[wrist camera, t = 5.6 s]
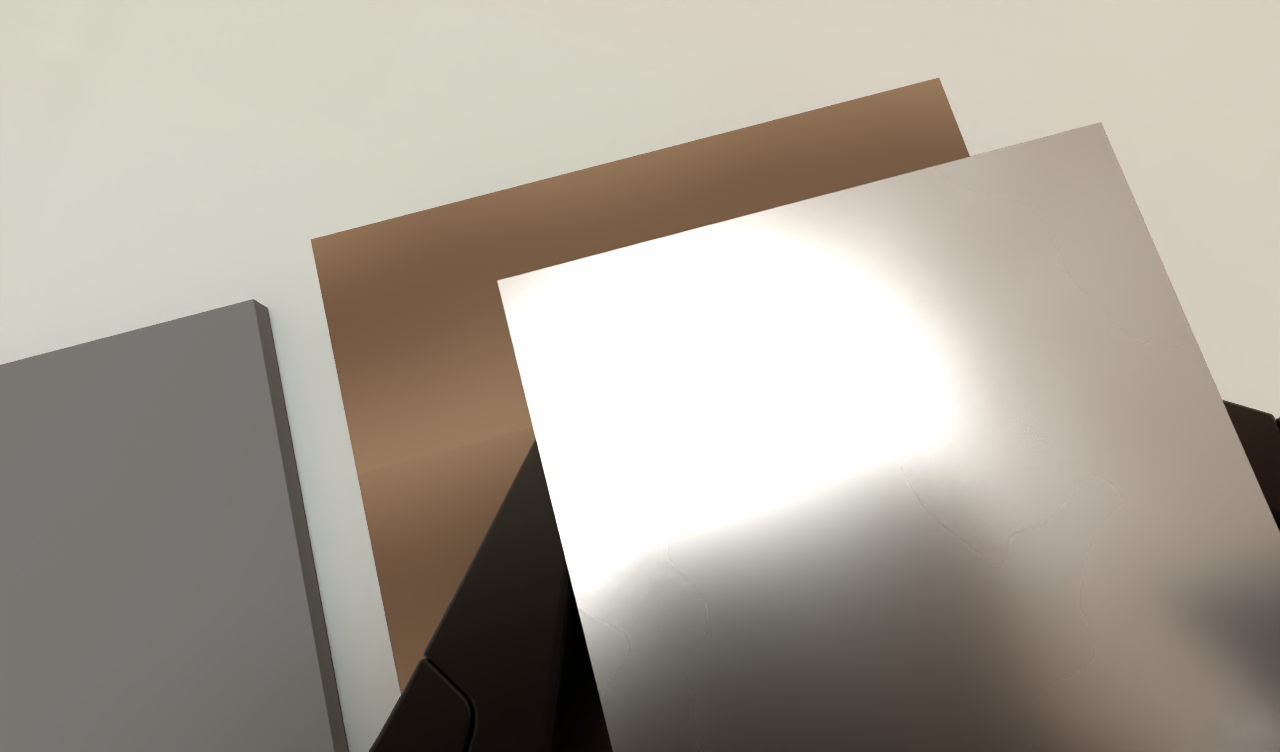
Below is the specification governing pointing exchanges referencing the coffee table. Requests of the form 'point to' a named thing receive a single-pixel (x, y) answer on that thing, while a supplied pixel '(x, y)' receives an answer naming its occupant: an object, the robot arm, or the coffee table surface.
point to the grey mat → (158, 549)
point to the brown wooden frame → (478, 329)
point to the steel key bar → (905, 475)
